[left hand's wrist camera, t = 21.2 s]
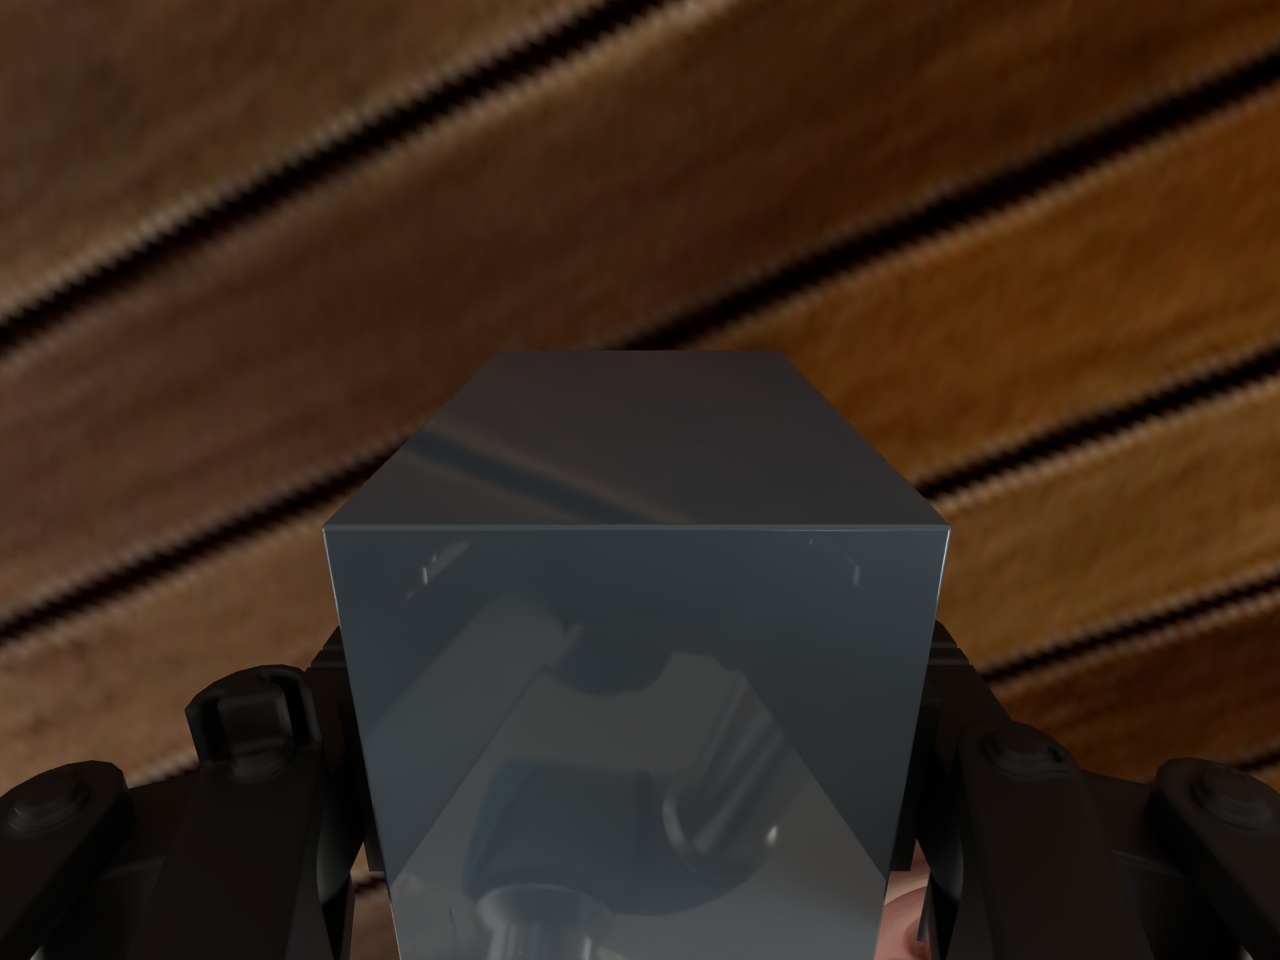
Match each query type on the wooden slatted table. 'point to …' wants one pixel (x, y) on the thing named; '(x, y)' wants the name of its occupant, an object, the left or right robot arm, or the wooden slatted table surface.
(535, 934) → the dark grey boxy piece
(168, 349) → the wooden slatted table surface
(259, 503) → the wooden slatted table surface
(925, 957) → the anatomical model
